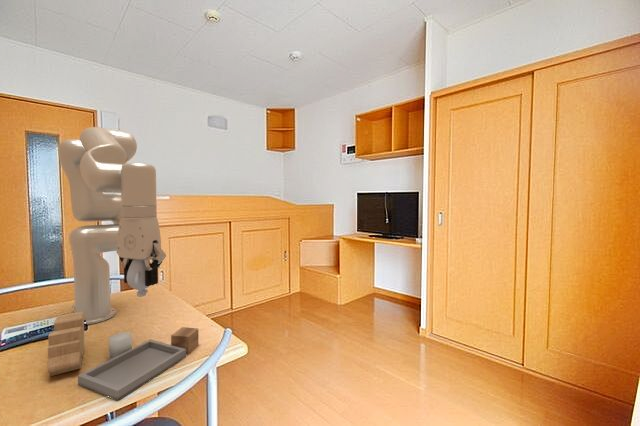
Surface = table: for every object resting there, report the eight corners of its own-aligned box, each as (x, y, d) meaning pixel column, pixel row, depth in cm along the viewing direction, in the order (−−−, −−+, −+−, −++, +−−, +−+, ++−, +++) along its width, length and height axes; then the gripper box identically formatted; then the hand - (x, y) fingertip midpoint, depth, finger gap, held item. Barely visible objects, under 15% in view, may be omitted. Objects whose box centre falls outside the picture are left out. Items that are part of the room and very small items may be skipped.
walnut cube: (171, 353, 80) (171, 335, 79) (182, 344, 84) (181, 327, 84) (188, 354, 79) (188, 336, 79) (198, 345, 84) (198, 328, 84)
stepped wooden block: (47, 383, 66) (46, 340, 65) (58, 350, 80) (57, 314, 79) (79, 375, 69) (78, 334, 68) (84, 344, 83) (83, 310, 82)
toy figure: (151, 300, 71) (150, 251, 70) (121, 303, 69) (120, 252, 68) (158, 287, 81) (157, 244, 80) (132, 289, 79) (131, 245, 78)
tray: (78, 385, 66) (77, 375, 65) (150, 346, 82) (150, 339, 82) (117, 401, 61) (117, 390, 61) (186, 357, 78) (186, 349, 77)
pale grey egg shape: (104, 357, 77) (104, 339, 76) (123, 348, 81) (123, 331, 81) (117, 362, 75) (117, 343, 74) (136, 352, 79) (135, 334, 79)
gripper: (100, 212, 73) (102, 283, 74) (152, 214, 67) (153, 291, 68) (129, 211, 80) (130, 276, 81) (178, 213, 74) (179, 283, 75)
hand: (141, 282), depth 75 cm, fingers closed on toy figure, 6 cm apart
